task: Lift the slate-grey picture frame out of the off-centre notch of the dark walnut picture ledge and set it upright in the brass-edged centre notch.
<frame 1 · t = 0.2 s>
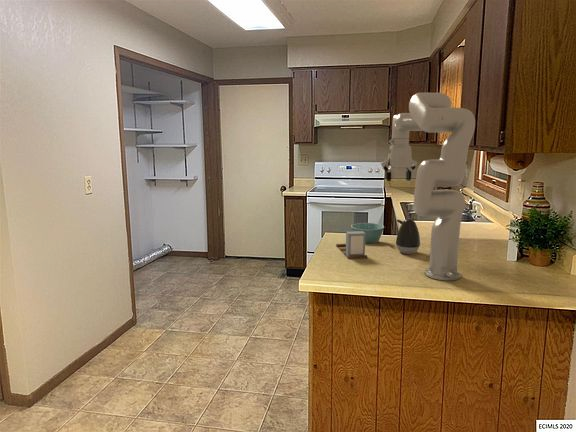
hand: (398, 180, 191), 31 cm above the worktop, tool pointing down, fingers open, 9 cm apart
bowl: (366, 242, 203), on the worktop
picture frame: (355, 255, 174), point 1 cm above the worktop, touching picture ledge
pump dispenser: (407, 252, 185), on the worktop
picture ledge: (350, 255, 180), on the worktop
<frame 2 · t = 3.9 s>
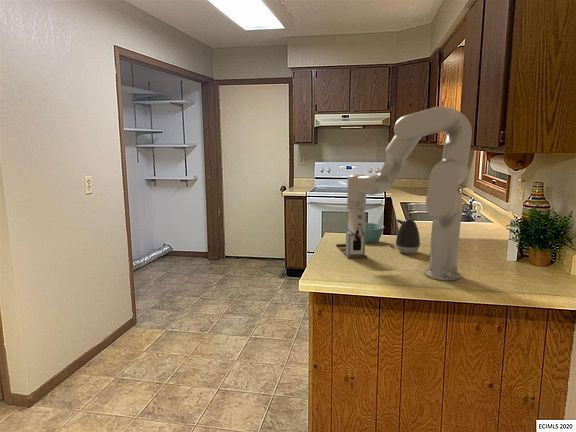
hand: (355, 248, 173), 5 cm above the worktop, tool pointing down, fingers closed on picture frame, 4 cm apart
picture frame: (355, 255, 174), point 2 cm above the worktop, touching gripper, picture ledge
everything else where it was.
when the fingers open (6 cm above the worktop, at t = 9.7 s): picture frame stays where it is, resting on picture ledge.
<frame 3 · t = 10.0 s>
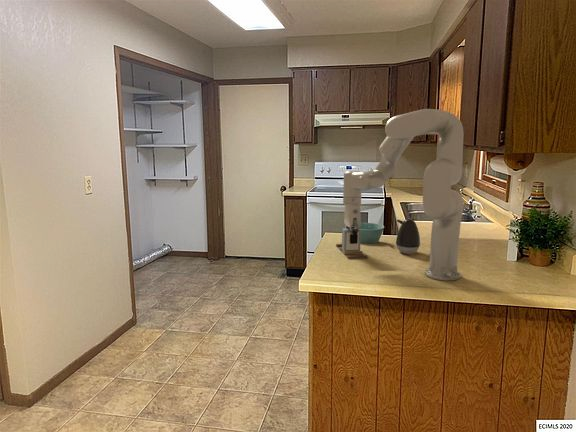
hand: (351, 241, 179), 6 cm above the worktop, tool pointing down, fingers open, 7 cm apart
picture frame: (350, 251, 180), point 1 cm above the worktop, touching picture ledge
everything else where it was.
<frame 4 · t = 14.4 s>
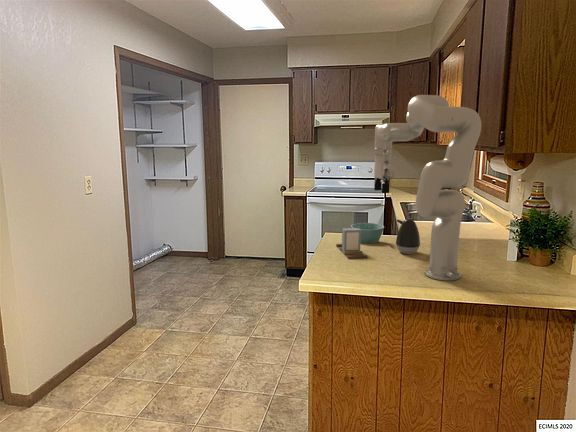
hand: (381, 191, 186), 26 cm above the worktop, tool pointing down, fingers open, 9 cm apart
nothing on the worktop moved.
at the end: picture frame 0.0 cm off-centre on the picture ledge, point 1.5 cm above the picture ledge's base; picture frame tilted 0°; the gripper is holding nothing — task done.
